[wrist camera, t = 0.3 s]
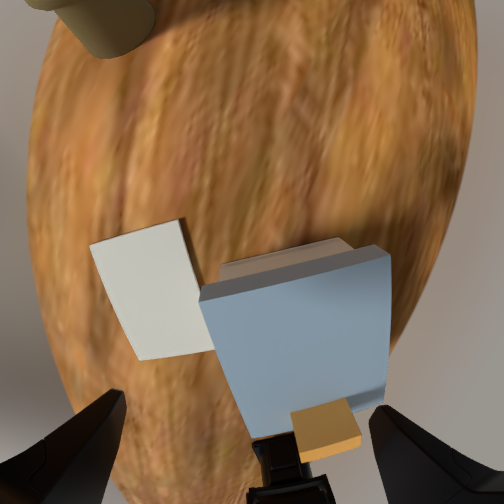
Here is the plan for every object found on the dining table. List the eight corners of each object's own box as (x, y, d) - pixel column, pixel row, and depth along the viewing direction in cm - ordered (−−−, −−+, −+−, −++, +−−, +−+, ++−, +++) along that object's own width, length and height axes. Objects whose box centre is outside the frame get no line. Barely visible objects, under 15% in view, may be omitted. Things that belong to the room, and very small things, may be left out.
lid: (373, 386, 20) (401, 434, 14) (250, 419, 20) (255, 476, 14) (374, 244, 16) (428, 280, 10) (201, 285, 16) (189, 344, 11)
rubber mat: (219, 345, 23) (219, 348, 22) (140, 358, 23) (139, 360, 22) (178, 218, 19) (177, 219, 19) (91, 244, 19) (89, 245, 19)
